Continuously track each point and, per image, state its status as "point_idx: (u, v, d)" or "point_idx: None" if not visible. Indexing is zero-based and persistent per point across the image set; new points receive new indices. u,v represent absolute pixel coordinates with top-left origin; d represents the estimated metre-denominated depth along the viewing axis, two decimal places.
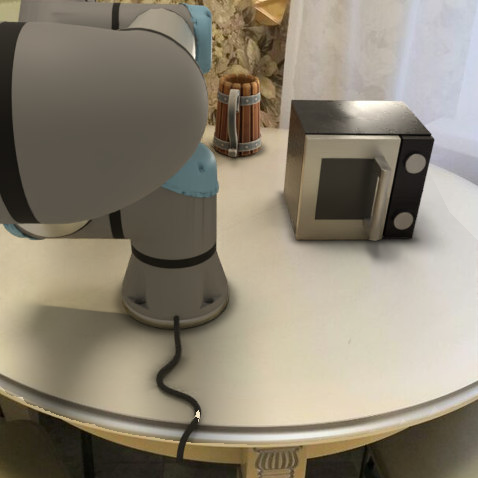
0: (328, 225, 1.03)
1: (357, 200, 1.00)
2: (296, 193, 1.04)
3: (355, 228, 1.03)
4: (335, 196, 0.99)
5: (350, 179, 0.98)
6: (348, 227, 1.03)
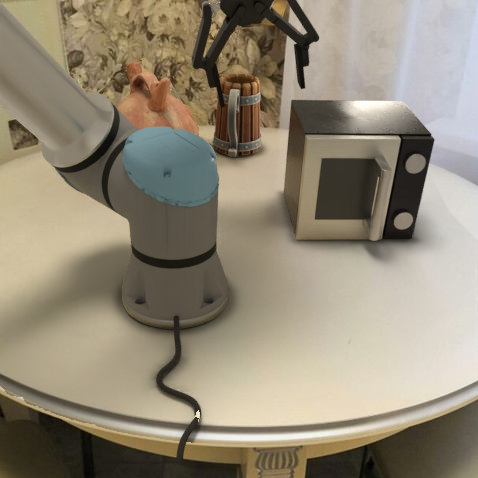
0: (328, 225, 1.03)
1: (357, 200, 1.00)
2: (296, 193, 1.04)
3: (355, 228, 1.03)
4: (335, 196, 0.99)
5: (350, 179, 0.98)
6: (348, 227, 1.03)
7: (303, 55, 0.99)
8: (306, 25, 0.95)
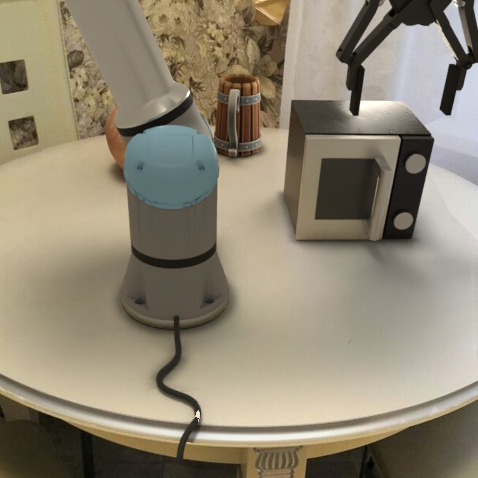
0: (328, 225, 1.03)
1: (357, 200, 1.00)
2: (296, 193, 1.04)
3: (355, 228, 1.03)
4: (335, 196, 0.99)
5: (350, 179, 0.98)
6: (348, 227, 1.03)
7: (459, 76, 0.86)
8: (475, 41, 0.83)
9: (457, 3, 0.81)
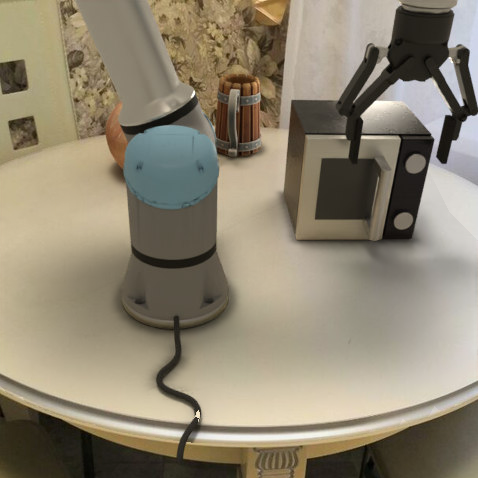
0: (328, 225, 1.03)
1: (357, 200, 1.00)
2: (296, 193, 1.04)
3: (355, 228, 1.03)
4: (335, 196, 0.99)
5: (350, 179, 0.98)
6: (348, 227, 1.03)
7: (455, 127, 0.90)
8: (469, 95, 0.87)
9: (452, 60, 0.84)
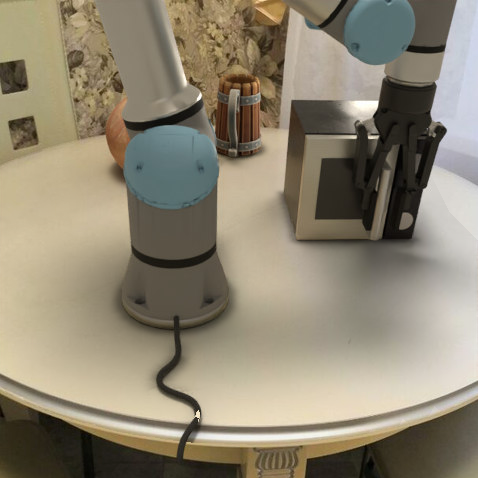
0: (328, 225, 1.03)
1: (357, 200, 1.00)
2: (296, 193, 1.04)
3: (355, 228, 1.03)
4: (335, 196, 0.99)
5: (350, 179, 0.98)
6: (348, 227, 1.03)
7: (405, 198, 0.96)
8: (427, 169, 0.93)
9: (429, 132, 0.90)
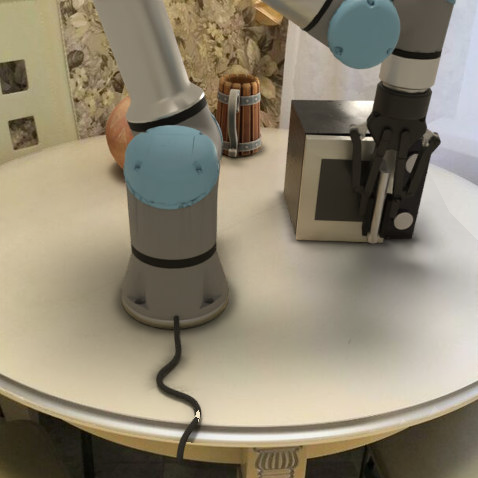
0: (328, 226, 1.02)
1: (357, 202, 0.99)
2: (296, 193, 1.04)
3: (355, 230, 1.03)
4: (335, 197, 0.99)
5: (350, 181, 0.97)
6: (348, 229, 1.03)
7: (392, 206, 0.95)
8: (416, 179, 0.91)
9: (423, 141, 0.89)
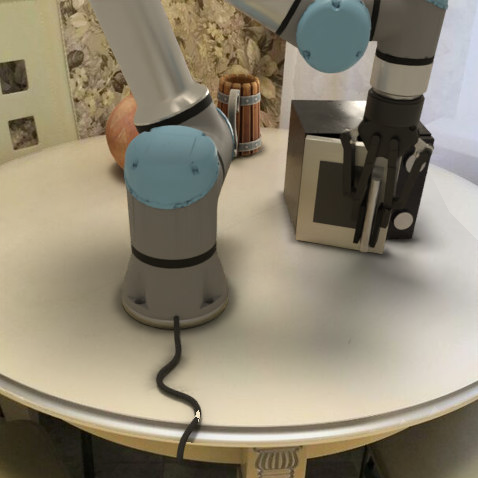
0: (327, 230, 1.01)
1: None
2: (296, 193, 1.04)
3: None
4: (333, 201, 0.98)
5: None
6: (347, 235, 1.01)
7: (383, 216, 0.92)
8: (406, 190, 0.88)
9: (415, 151, 0.85)
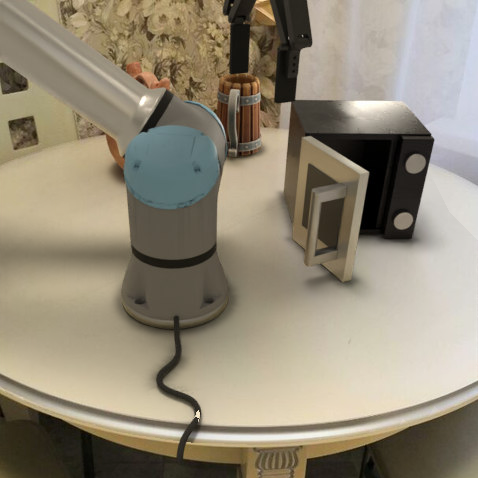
0: None
1: (327, 224, 0.93)
2: (296, 193, 1.04)
3: None
4: None
5: None
6: None
7: (285, 60, 0.76)
8: (288, 19, 0.72)
9: None
